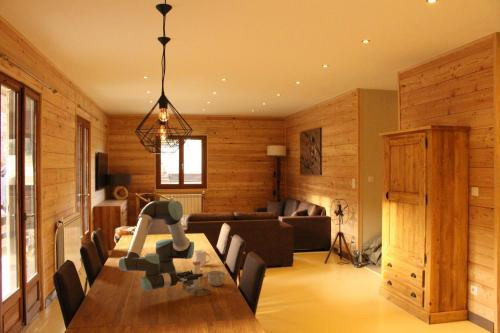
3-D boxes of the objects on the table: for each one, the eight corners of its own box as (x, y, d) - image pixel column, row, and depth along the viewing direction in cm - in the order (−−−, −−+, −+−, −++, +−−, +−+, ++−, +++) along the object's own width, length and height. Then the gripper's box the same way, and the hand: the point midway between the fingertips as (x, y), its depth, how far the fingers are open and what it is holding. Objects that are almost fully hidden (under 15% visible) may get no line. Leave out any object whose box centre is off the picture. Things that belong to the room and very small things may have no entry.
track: (182, 288, 255) (182, 281, 255) (193, 286, 260) (193, 279, 260) (198, 296, 239) (198, 289, 239) (210, 293, 244) (210, 286, 244)
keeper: (190, 288, 250) (190, 261, 250) (197, 287, 252) (197, 260, 253) (195, 291, 245) (195, 263, 245) (202, 289, 248) (202, 262, 248)
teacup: (206, 283, 266) (206, 270, 266) (222, 281, 269) (222, 269, 269) (212, 289, 252) (211, 276, 252) (229, 287, 256) (229, 274, 256)
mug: (210, 266, 311) (210, 252, 311) (194, 267, 310) (194, 252, 310) (210, 263, 320) (210, 249, 320) (194, 264, 319) (194, 250, 319)
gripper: (162, 282, 245) (197, 276, 259) (175, 289, 231) (212, 282, 245) (162, 270, 245) (197, 264, 259) (175, 276, 231) (212, 269, 245)
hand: (204, 273), depth 252 cm, fingers closed on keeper, 4 cm apart
